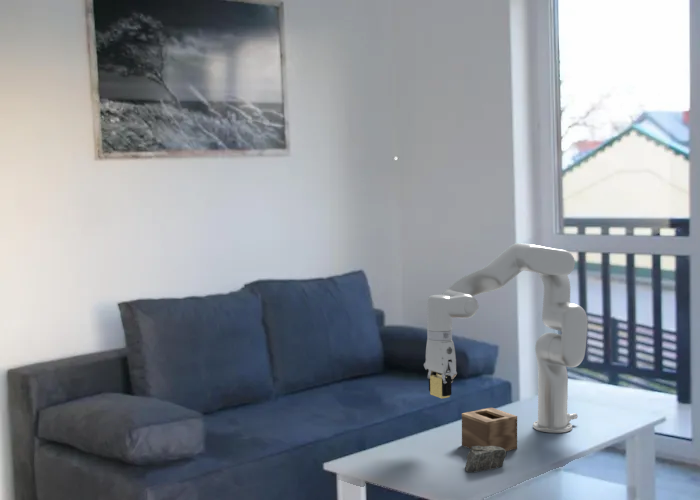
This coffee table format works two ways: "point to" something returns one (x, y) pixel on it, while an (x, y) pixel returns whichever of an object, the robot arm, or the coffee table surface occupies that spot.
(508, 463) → the coffee table surface
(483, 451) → the stone
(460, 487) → the coffee table surface
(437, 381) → the brushed brass block
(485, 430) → the box
